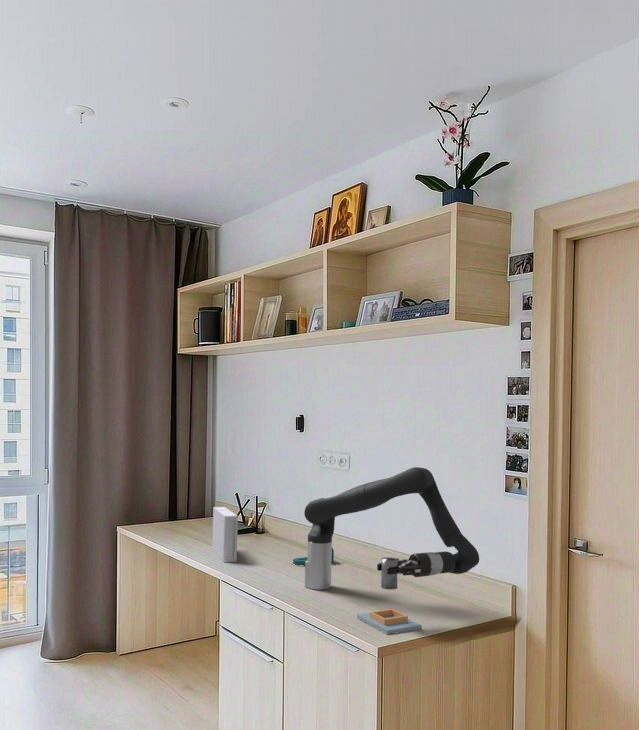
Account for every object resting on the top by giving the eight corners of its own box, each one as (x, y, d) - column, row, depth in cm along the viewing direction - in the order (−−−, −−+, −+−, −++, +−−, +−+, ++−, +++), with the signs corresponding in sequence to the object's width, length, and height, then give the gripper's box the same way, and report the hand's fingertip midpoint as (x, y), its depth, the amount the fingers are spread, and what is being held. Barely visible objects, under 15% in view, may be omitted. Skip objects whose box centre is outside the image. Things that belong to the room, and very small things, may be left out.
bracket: (325, 560, 326) (325, 542, 326) (333, 563, 320) (333, 544, 321) (290, 563, 317) (290, 545, 317) (297, 567, 311) (298, 548, 311)
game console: (223, 562, 315) (224, 516, 316) (211, 550, 341) (212, 507, 342) (236, 562, 317) (237, 516, 318) (223, 549, 343) (225, 506, 344)
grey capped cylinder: (378, 588, 234) (379, 559, 234) (384, 584, 239) (384, 556, 239) (394, 590, 232) (394, 561, 232) (399, 586, 236) (399, 557, 237)
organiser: (356, 618, 239) (356, 608, 240) (390, 613, 245) (390, 604, 246) (386, 634, 224) (386, 624, 224) (421, 629, 230) (421, 619, 230)
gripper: (413, 548, 248) (370, 552, 241) (439, 557, 236) (395, 561, 228) (413, 571, 248) (370, 575, 240) (438, 580, 235) (394, 586, 228)
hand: (382, 569), depth 234 cm, fingers closed on grey capped cylinder, 5 cm apart
